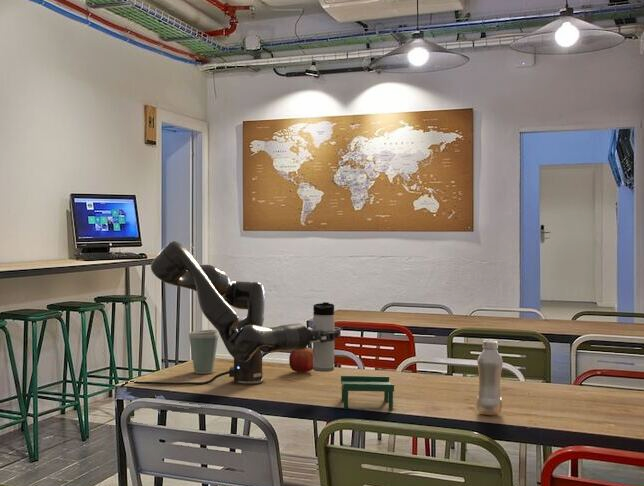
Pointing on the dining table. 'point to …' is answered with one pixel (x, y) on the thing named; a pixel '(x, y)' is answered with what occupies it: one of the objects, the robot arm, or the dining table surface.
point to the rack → (367, 387)
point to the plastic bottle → (489, 379)
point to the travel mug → (321, 321)
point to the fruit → (301, 360)
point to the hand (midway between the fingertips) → (329, 332)
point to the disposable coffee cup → (203, 350)
